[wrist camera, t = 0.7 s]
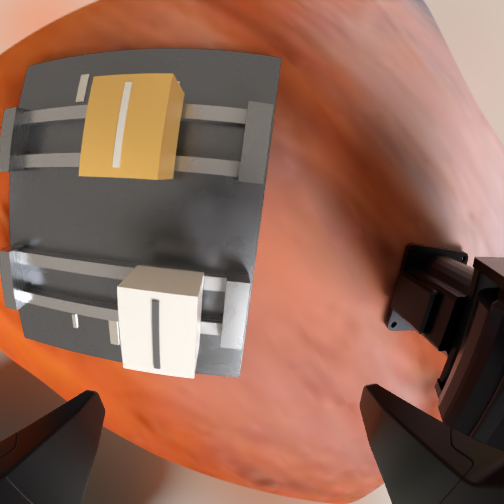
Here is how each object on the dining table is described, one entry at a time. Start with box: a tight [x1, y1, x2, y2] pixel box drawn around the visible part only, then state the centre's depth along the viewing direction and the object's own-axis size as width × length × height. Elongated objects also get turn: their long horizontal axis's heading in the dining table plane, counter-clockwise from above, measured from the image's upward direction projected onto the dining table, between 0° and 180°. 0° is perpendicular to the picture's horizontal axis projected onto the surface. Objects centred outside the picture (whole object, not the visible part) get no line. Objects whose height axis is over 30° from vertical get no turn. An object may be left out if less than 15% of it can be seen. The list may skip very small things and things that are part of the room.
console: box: [0, 48, 281, 377], centre depth 15 cm, size 17×20×3 cm
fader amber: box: [79, 73, 185, 180], centre depth 12 cm, size 4×4×5 cm
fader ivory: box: [117, 265, 204, 379], centre depth 15 cm, size 4×4×5 cm
